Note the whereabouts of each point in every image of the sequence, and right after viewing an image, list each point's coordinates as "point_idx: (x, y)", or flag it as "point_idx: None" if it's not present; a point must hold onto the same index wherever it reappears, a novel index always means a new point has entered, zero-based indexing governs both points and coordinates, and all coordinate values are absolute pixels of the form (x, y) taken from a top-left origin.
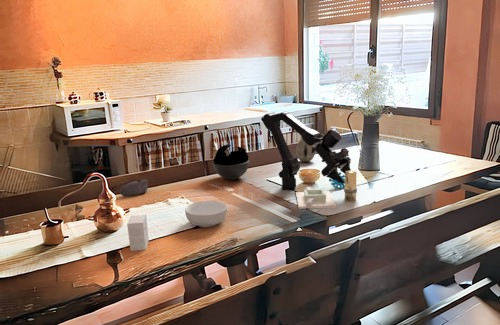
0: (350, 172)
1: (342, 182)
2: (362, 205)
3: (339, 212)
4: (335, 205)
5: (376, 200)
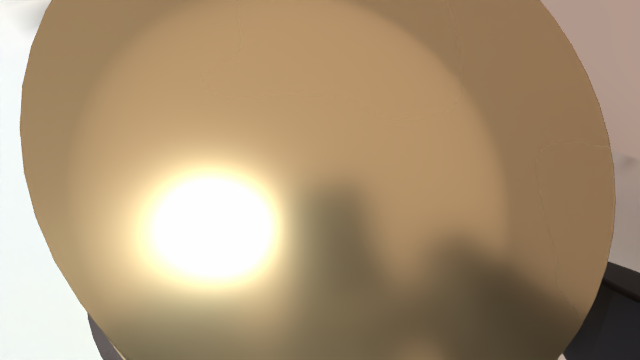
0: (430, 83)
1: None
2: None
3: (630, 157)
4: None
5: (2, 7)
